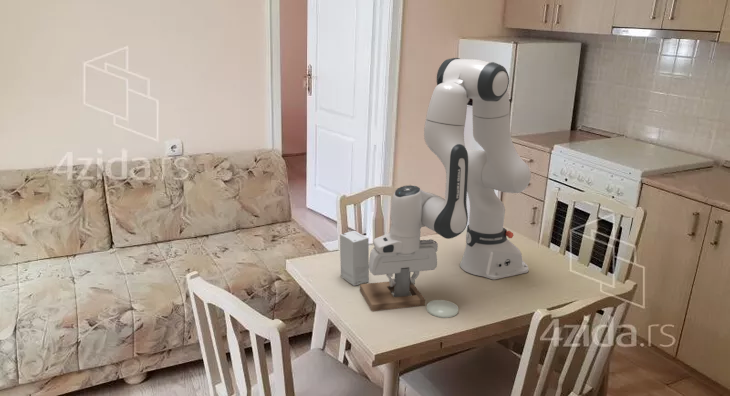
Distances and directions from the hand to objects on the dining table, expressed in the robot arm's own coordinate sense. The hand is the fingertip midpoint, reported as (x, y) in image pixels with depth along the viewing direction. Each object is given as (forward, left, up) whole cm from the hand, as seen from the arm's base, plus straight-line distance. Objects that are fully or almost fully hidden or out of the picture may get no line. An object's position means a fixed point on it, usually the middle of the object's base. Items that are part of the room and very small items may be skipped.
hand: (402, 284), depth 176 cm
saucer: (-9, +10, -4) cm, 14 cm away
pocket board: (+3, 0, -4) cm, 5 cm away
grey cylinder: (0, 0, -4) cm, 4 cm away
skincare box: (+11, -14, -4) cm, 18 cm away
